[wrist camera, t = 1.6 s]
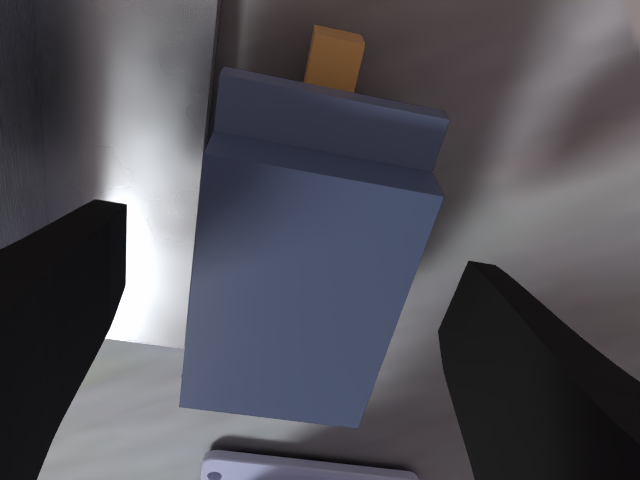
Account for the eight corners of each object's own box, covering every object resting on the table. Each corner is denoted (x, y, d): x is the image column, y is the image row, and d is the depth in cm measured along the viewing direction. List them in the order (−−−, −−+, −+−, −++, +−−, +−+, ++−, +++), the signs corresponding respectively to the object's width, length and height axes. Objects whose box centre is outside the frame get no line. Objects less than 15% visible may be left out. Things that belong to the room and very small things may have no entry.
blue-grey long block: (338, 328, 16) (347, 455, 12) (208, 309, 16) (176, 436, 12) (423, 42, 12) (477, 104, 8) (245, 3, 11) (214, 49, 8)
